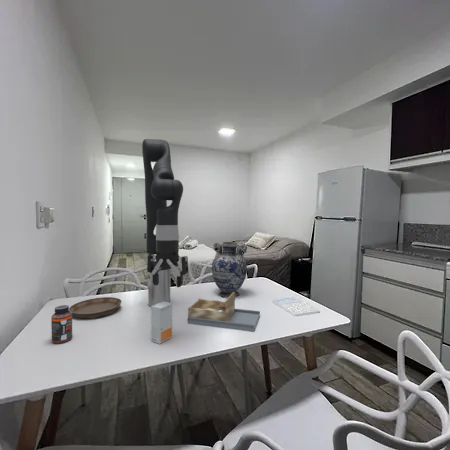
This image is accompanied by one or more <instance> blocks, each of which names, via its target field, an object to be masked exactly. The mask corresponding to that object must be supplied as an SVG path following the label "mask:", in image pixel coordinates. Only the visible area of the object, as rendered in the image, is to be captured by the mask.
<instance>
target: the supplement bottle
mask: <svg viewBox="0 0 450 450" xmlns="http://www.w3.org/2000/svg"><path fill="white" fill-rule="evenodd" d="M69 308H70V306H69V305H67V304H63V305H62V304H61V305H57V306H55V307H54V313H53V314H52V315H51V321H50V322H51V323H50V324H51V325H50V326H51V342H52V343H53V344H63V343H67V342H68V341H70V340H72V338H73V314H72V313H71V312H70V311H69Z"/></svg>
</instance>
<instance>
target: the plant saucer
mask: <svg viewBox="0 0 450 450" xmlns="http://www.w3.org/2000/svg"><path fill="white" fill-rule="evenodd" d="M121 304H122V299H120V298H118V297H114V296H113V297H112V296H111V297H109V296H108V297H107V296H105V297H104V296H103V297H96V298H90V299H84V300H81V301H79V302H76V303H74V304H72V305H70V306H69V311H70V312H71V313H72V316H74V317H76V318H79V319H95V318H100V317H105V316H107V315H109V314H112V313H114V312H115V311H116V310H118V308H119V307H120V306H121Z"/></svg>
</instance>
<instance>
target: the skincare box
mask: <svg viewBox="0 0 450 450" xmlns="http://www.w3.org/2000/svg"><path fill="white" fill-rule="evenodd" d="M150 311H151V312H150V341H151V342H152V343H153V342H154V343H156V344H157V345H158V344H159V345H160V344H162V343H164V342H166V341H167V340H169V339H171V338H172V337H173V303H172V302H170V303H168V302H165V301H164V302H161V303H158V304H156V305H153V306H150Z"/></svg>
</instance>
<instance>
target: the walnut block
mask: <svg viewBox="0 0 450 450" xmlns="http://www.w3.org/2000/svg"><path fill="white" fill-rule="evenodd" d="M219 309H224V310H225V312H226V303H221V304H220V305H219Z"/></svg>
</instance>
